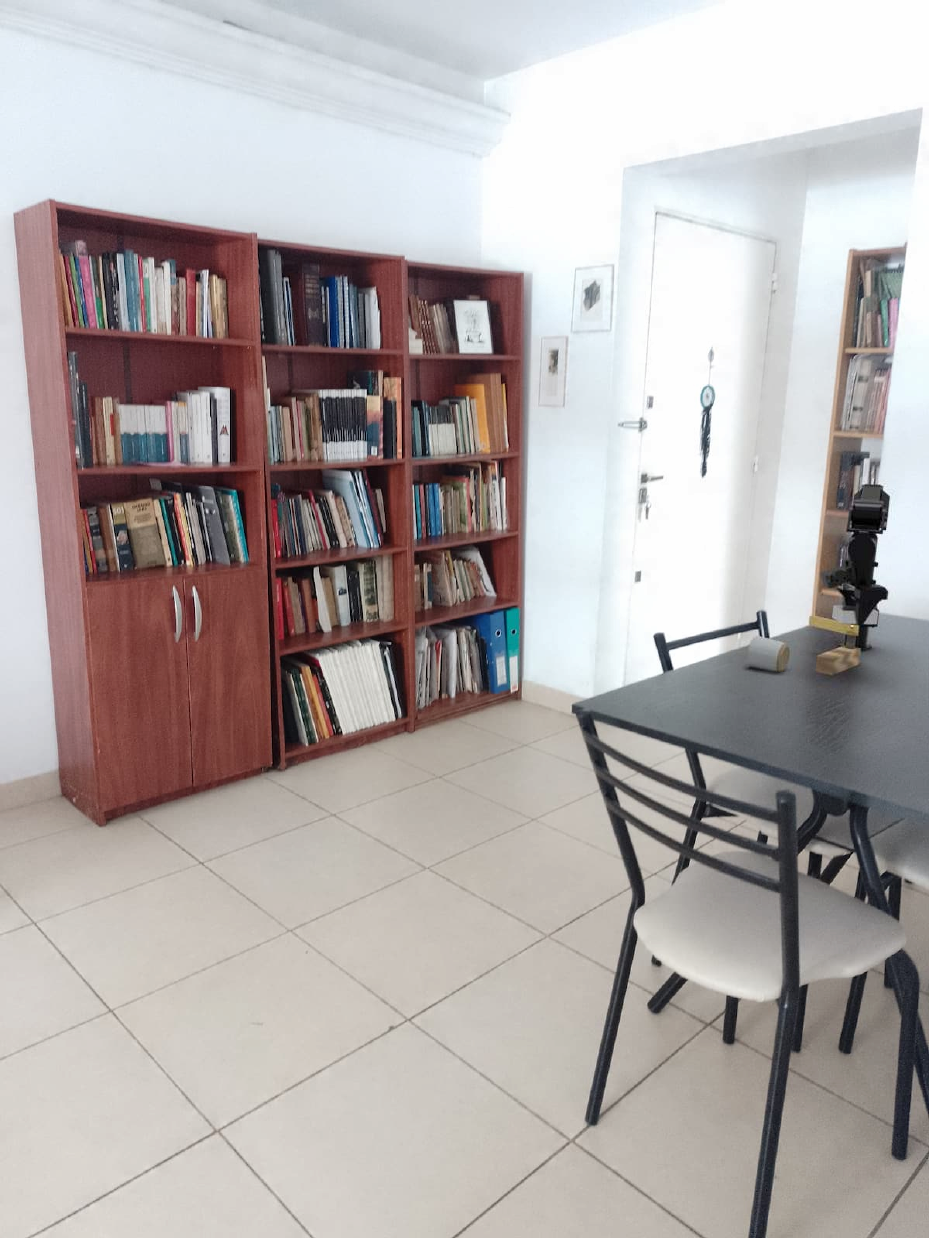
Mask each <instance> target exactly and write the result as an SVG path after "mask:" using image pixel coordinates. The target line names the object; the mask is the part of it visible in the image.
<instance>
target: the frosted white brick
mask: <svg viewBox="0 0 929 1238" xmlns="http://www.w3.org/2000/svg"><path fill="white" fill-rule="evenodd" d="M831 616H832V617H831V618H832V620H836V621H839V622H840V623H846V624H857V606H842V605H837V604H836V605H833V606H832V615H831ZM877 619H878V620H879V618H878V611H876V610H874V609H873V611H872V612H871V613H870V615H869V616H868V618H867V619H866V621H865V622H864V624H877Z"/></svg>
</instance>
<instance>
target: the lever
mask: <svg viewBox="0 0 929 1238" xmlns="http://www.w3.org/2000/svg"><path fill="white" fill-rule="evenodd" d="M808 619H809V620H808V626H811V627H815V628H820V629H824V630H829V631H832V632H836V633H842V634H846V635H850V636H858V630H859V626H858V625H857V624H846V623H840V622H839V621H837V620H835V619H831V618H827V617H822V616H818V615H809V618H808Z"/></svg>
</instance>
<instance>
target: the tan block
mask: <svg viewBox="0 0 929 1238" xmlns="http://www.w3.org/2000/svg"><path fill="white" fill-rule="evenodd" d="M855 640H856V636H850V635H847V641H846V645H844V646H842V647H839V646H838V647H837V648H833V649H831V650H828V651H826V652H823V653H821V654H817V656H816V665H815V673H819V674H823V675H824V674H825V675H828V674H829V676H834V675H836V674H838V673H842V672H843V671H846V670H848V669H851V668H853V667H855V666H858V665H860V658H861V652H862V651H861V648H856V647H855ZM833 674H834V675H833Z"/></svg>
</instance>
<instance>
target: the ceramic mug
mask: <svg viewBox="0 0 929 1238" xmlns="http://www.w3.org/2000/svg"><path fill="white" fill-rule="evenodd" d="M790 651H791V650H790V647H789V645H788V644H786V643H784V642H782V641H778V640H775V639H771V638H768V637H764V636H759V635H754V637H752V639H751V640H750V643H749V645H748V648H747V653H746V664H747V666H749V667H750V668H756V669H760V670H766V671H771V672H776V673H777V672H778V673H780V672H783V671H784V670H785V669H786V667H787V665H788V663H789V660H790V655H791V654H790Z"/></svg>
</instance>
